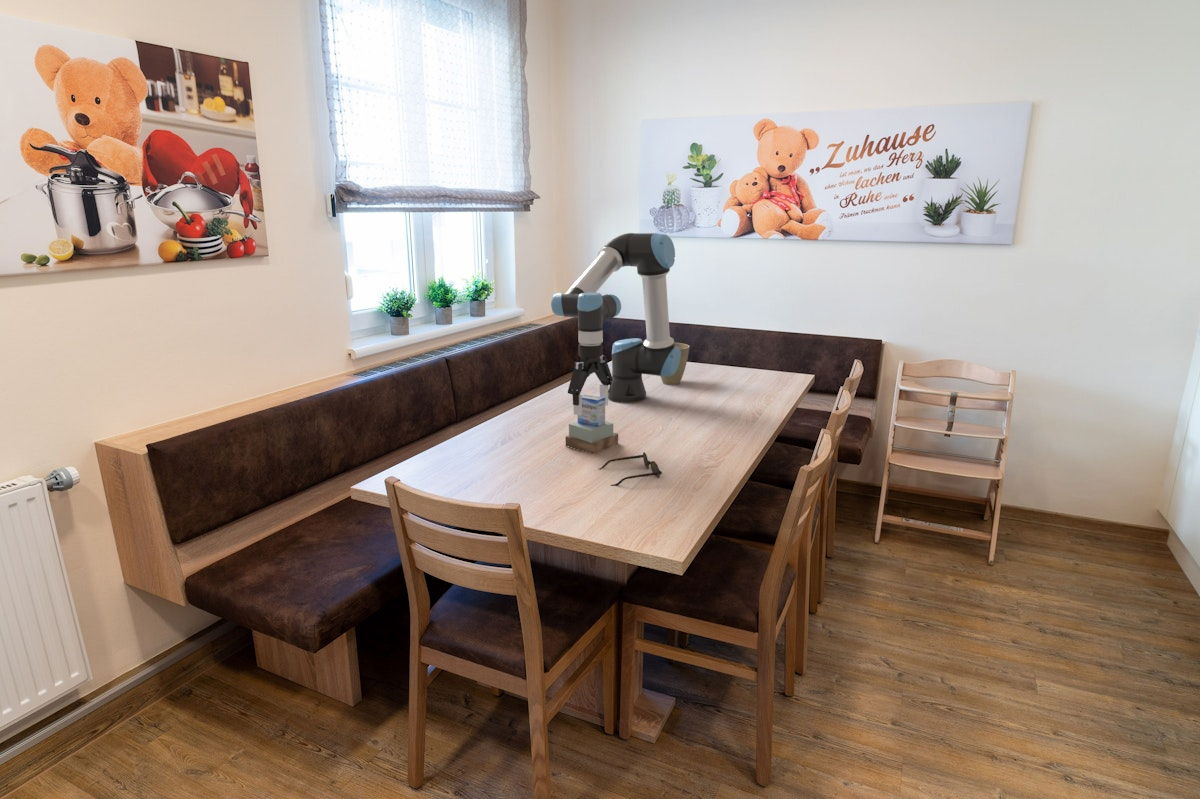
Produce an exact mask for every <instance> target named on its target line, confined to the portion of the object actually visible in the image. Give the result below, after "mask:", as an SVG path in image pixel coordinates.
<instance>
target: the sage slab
mask: <svg viewBox="0 0 1200 799" xmlns="http://www.w3.org/2000/svg"><path fill="white" fill-rule="evenodd" d="M613 433H614V423H613V422H611V421H606V420H605V423H604V424H603V425H601V426H599V427H598V426H592V425H585V424H579V423H578V420H577V421H574V422H571V423H568V435H569V436H571V437H574V438H577V439H580V440H584V441H587V442H590V443H593V442H596V441H599V440H601V439H604V438H607V437H610V436H613Z"/></svg>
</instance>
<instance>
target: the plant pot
mask: <svg viewBox="0 0 1200 799" xmlns="http://www.w3.org/2000/svg"><path fill="white" fill-rule="evenodd" d="M674 346H677V347H679V348H680V350H681V357H680V363H679V366H678V369H677V371H676V372H675V374H674V375H672V376H670V377H668V376H663V377H661V376H659V377H660V379H661V382H662V384H664V385H669V386H670V385H671V386H675V385H679V384H681V381H682V378H683V376H684V373H685V370H686V367H687V362H688V357H689V353H690V345H689V344H687V343H681V342H674Z"/></svg>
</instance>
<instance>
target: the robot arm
mask: <svg viewBox="0 0 1200 799" xmlns="http://www.w3.org/2000/svg"><path fill="white" fill-rule="evenodd" d="M597 252H598V253H597V256H596V257H597V258H595V260H593V262H591V264H590V265H589V266H588V267H587V268H586V269H585V271H583V273H582V274H581V275H580V276H579V277H578V278H577V279H576V280H575V281H574V283H573V284H572V285H571V286H570V287H569V288H568V290H566V292H557V293H555V294H554V295H553V296H552V298H551V302H550V307H551V311H552V313H553V314H554V315H555V316H559V317H564V318H577V327H578V328H577V330H578V332H577V333H578V337H577V338H578V343H579V344H578V347H577V348H578V350H577V351H578V352H577V353H578V356H579V357H580V362H578V361H575V362H574V363H573V370H572V375H571V378H570V382H569V385H568V389H567V394H570V395H572V405H573V415H576V416H578V415H579V416H581V415H582V395H583V394H581V393H582V390H583V388H584V385H585V383H586V381H587V379H588V377H589V376H591V375H593V374H595V376H596V377H597V379H598V381H599V382H600V383H601V384H599V397H603V398H605V407H606V406H608V405H609V401H612V402H617V403H625V404H626V403H638V402H643V401H645V400H646V398H647V391H646V388H645V385H644V382H643V375H650V376H658V377H660V376H661V377H663V376H668V377H670V376H672V375H674V374H675V372H676V371H677V369H678V366H679V363H680V357H681V350H680V348H679V347H677V346H674V343H675V340H674V338H673V337H671V336H670V335H671V332H670V322H669V320H670V319H669V304H668V303H669V300H668V285H667V275H668V274H669V272H670V270H671V268H672V267H673V266H674V264H675V257H676V249H675V245H674V242H673V240H672V238H671V237H670V236H669V235H668V234H664V233H656V232H655V233H654V232H653V233H652V232H651V233H649V232H648V233H634V232H628V233H624V234H620V235H618V236H616V237H614V238H612V239H611V240H610V241H608V242H607V243H605V245H604V246H602V247H601V248H600V249H599V251H597ZM624 267H636V272H637V274H638V275H639V276H640V277H641V280H642V281H641V282H642V294H643V295H642V296H643V305H644V306H643V307H644V318H645V319H644V320H645V328H646V330H645V331H646V332H645V334H646V339H644V340H643V339H642V338H638V337H637V338H636V337H635V338H625V339H620V340H616V341H614V343H612V349H611V368H610V367H609V363H608V358H607V357H608V356H607V355H604V354H603V353H604V350H603V341H604V338H603V337H604V334H603V332H604V331H603V322H604V321H607V320H611V319H614V318H615V317H617V316H618V315H620V313H621V311H622V303H621V300H620V299H619V297H618V296H617V295H615V294H612V293H611V294H608V293H607V294H605V295H602V294H601V293H600V292H598V291H599V290H600V288H602V286H603V285H604V284H605V283H606V281H607V280H608V279H609V278H610V277H611V276H612V275H613V273H614V272H618V271H619V270H620V269H621V268H624ZM611 371H612V372H611ZM661 377H660V378H661Z"/></svg>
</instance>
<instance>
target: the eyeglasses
mask: <svg viewBox="0 0 1200 799" xmlns="http://www.w3.org/2000/svg"><path fill="white" fill-rule="evenodd" d="M633 459H643V463H644V466H645V467H646V470H649V469H650V470H651V472H648V473H642V474H636V475H631V476H626V477H623V478H622V479H620V480H619V481H618V482H617V483H614V484H610V487H611V486H613V487H615V486H619V485H620V484H622V483H623V482H624V481H625V480H629V479H635V478H642V477H644V478H645V477H652V476H655V477H656V478H657V479H660V478H661V475H662V474H663V473H662V471H661V469H660V468H659V465H658V464H657V462H656V461H655V460H651V461H650V460H649V459H648V456H647V453H646V452H643V453H642V454H639V455H631V456H625V457H619V458H618V457H617V458H614V459H613V458H612V459H610V460H608V461H606V462H605V463H604V464H603V465H602V466H601V467H600V468H598V469H597V470H599V469H600V470H602V468H603V469H604V468H605V467H606V466H607V465H608V464H609V463H611V462H616V461H617V462H618V461H626V460H633ZM649 467H650V468H649ZM600 470H599V471H600Z"/></svg>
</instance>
